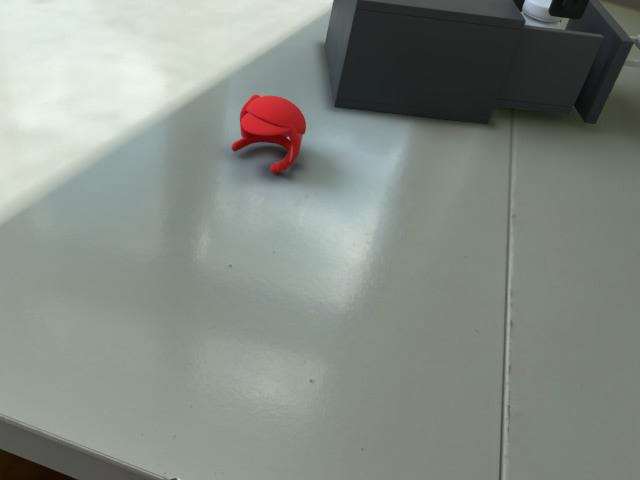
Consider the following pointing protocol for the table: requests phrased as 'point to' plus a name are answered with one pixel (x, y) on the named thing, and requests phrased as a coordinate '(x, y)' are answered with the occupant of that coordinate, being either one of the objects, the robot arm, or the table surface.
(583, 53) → the drawer
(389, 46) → the cabinet
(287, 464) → the table surface
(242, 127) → the red domed clip
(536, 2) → the supplement bottle
